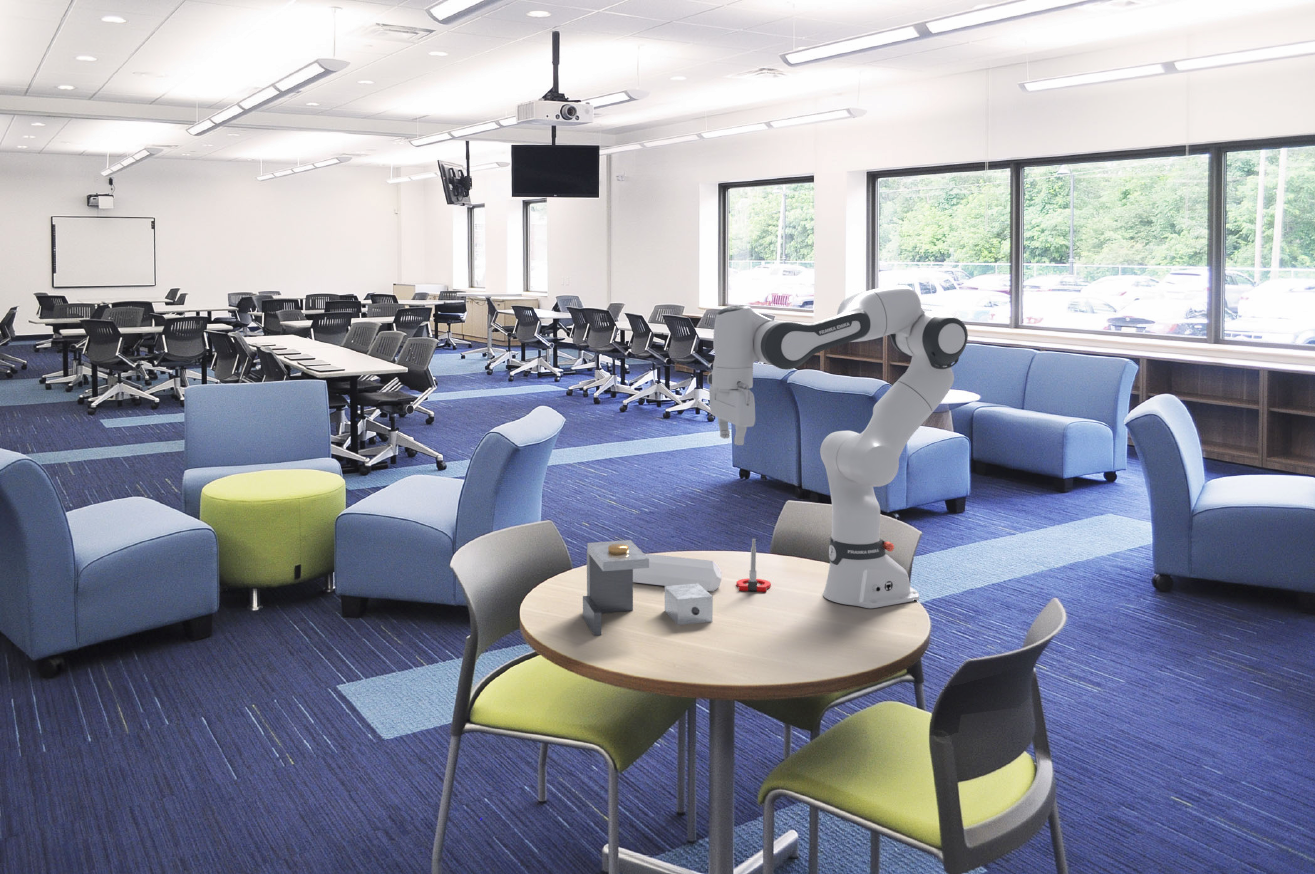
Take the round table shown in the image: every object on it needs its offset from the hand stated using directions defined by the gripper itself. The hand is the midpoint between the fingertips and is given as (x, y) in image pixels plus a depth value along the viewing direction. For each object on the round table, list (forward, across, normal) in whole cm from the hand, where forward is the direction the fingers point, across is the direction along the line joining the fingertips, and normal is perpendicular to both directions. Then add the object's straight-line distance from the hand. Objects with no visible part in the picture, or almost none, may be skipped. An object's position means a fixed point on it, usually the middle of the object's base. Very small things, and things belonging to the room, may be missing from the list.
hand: (731, 441), depth 236 cm
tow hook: (+39, +15, -12) cm, 43 cm away
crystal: (+39, +22, +6) cm, 45 cm away
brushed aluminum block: (+39, -2, +10) cm, 41 cm away
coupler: (+39, -1, +27) cm, 48 cm away
